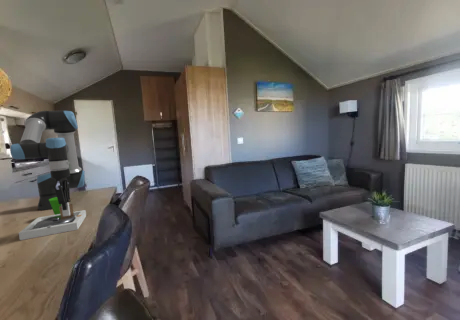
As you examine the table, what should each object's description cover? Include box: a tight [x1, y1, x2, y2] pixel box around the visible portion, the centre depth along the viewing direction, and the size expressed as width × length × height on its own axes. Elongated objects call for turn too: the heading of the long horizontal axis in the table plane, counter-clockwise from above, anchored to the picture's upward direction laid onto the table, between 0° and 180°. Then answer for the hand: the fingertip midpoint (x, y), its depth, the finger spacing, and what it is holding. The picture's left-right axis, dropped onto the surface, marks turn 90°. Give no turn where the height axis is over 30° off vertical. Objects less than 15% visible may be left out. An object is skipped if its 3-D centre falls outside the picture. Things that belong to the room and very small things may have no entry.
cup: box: [49, 197, 61, 215], centre depth 130 cm, size 9×9×11 cm
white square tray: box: [18, 209, 87, 241], centre depth 114 cm, size 22×22×4 cm
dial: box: [36, 203, 75, 229], centre depth 114 cm, size 16×16×8 cm
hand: (66, 215), depth 112 cm, fingers closed
